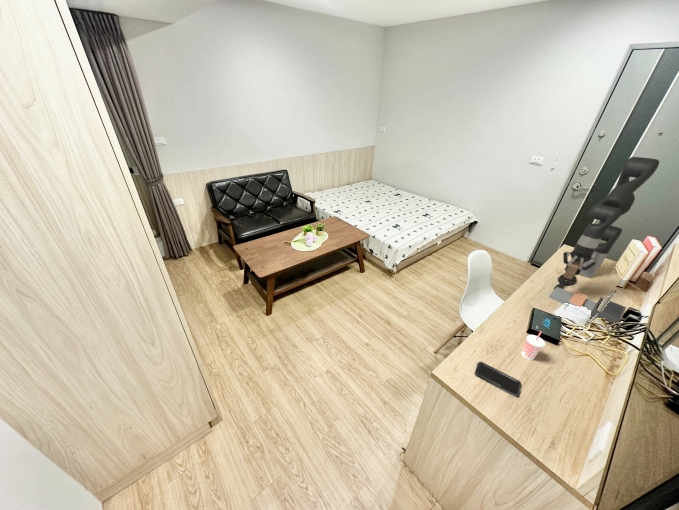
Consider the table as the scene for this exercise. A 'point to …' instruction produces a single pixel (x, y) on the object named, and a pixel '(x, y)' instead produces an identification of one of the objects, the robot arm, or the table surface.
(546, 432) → the table surface
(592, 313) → the tray
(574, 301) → the tile
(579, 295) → the tile
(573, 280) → the hairbrush
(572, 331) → the phone case
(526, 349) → the beverage cup
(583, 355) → the table surface
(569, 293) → the board
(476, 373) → the phone
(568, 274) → the brown wooden block
